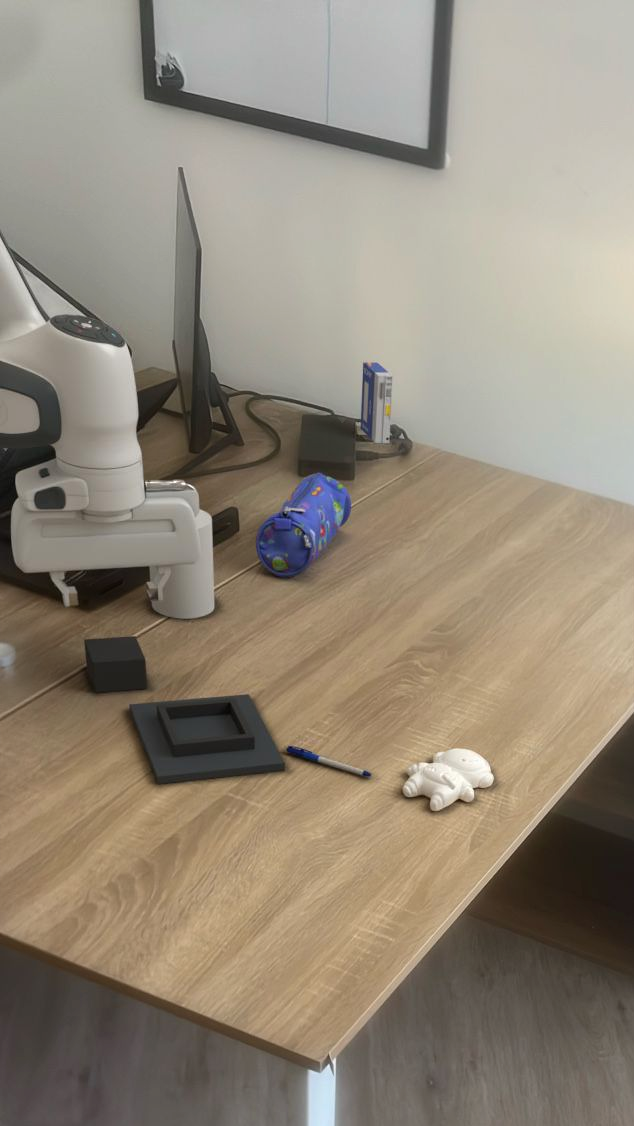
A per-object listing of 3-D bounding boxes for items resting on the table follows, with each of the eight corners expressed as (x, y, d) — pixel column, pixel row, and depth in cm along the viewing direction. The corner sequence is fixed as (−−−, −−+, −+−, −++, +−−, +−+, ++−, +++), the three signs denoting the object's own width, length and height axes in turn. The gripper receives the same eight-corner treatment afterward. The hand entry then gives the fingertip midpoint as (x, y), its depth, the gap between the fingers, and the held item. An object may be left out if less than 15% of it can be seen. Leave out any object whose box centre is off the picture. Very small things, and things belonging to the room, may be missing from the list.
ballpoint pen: (284, 754, 145) (284, 746, 145) (288, 750, 146) (288, 742, 145) (369, 778, 144) (369, 771, 143) (372, 775, 144) (372, 767, 144)
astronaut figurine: (384, 786, 143) (385, 763, 141) (453, 751, 151) (455, 729, 149) (442, 819, 140) (445, 796, 138) (510, 781, 148) (513, 759, 146)
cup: (196, 588, 175) (193, 502, 168) (225, 612, 171) (223, 524, 163) (141, 597, 171) (135, 509, 163) (169, 622, 166) (164, 533, 159)
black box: (95, 693, 150) (92, 662, 148) (86, 669, 154) (83, 639, 152) (147, 689, 153) (145, 658, 150) (137, 665, 157) (135, 635, 154)
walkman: (360, 428, 236) (363, 360, 228) (374, 428, 237) (377, 360, 229) (375, 443, 231) (378, 374, 223) (389, 443, 232) (393, 373, 224)
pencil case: (310, 587, 181) (311, 521, 174) (251, 575, 181) (250, 509, 175) (352, 532, 198) (354, 470, 192) (298, 522, 198) (299, 460, 192)
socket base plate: (157, 784, 137) (156, 763, 136) (129, 711, 148) (128, 691, 146) (284, 770, 143) (285, 750, 141) (248, 701, 154) (248, 681, 152)
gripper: (191, 469, 145) (198, 585, 153) (-1, 474, 137) (17, 596, 145) (204, 489, 140) (210, 607, 149) (7, 496, 132) (25, 620, 141)
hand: (113, 602), depth 147 cm, fingers open, 8 cm apart
